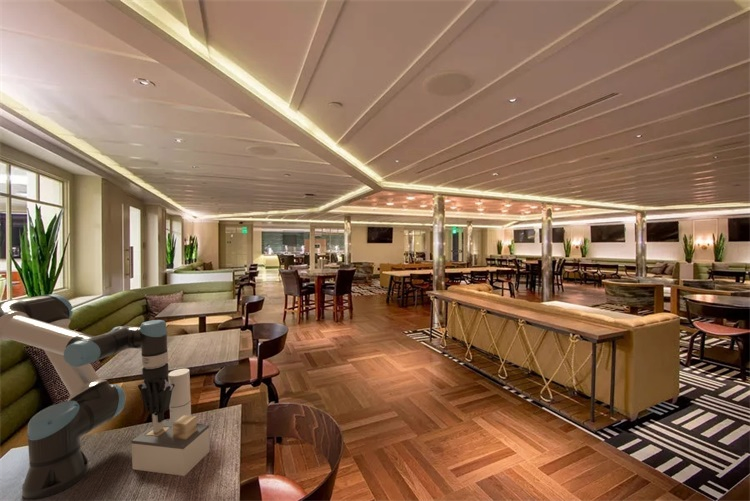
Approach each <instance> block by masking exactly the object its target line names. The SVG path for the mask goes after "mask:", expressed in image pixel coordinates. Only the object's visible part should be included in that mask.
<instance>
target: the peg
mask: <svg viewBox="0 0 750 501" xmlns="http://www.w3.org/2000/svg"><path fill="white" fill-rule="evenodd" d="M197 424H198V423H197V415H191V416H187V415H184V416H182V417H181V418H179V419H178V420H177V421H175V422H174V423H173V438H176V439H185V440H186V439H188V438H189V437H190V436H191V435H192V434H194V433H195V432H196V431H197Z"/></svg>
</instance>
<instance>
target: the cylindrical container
mask: <svg viewBox="0 0 750 501" xmlns="http://www.w3.org/2000/svg"><path fill="white" fill-rule="evenodd" d="M190 375H191V374H190V369H189V368H179V369H174V370H171V371H170V372H168V374H167V379H168V383H170V384H174V385H175V386H174V388H173V390H172V395H171V400H170V406H169V421H177V420H178V419H179V418H181V417H182V416H184V415H187V416H192V406H191V405H192V404H191V401H192V399H191V380H190V379H191V377H190Z"/></svg>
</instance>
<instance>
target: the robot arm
mask: <svg viewBox="0 0 750 501" xmlns="http://www.w3.org/2000/svg"><path fill="white" fill-rule="evenodd" d="M72 315H73V305H72V304H71V302H70V301H69V300H68V299H67V298H66V297H65V296H63V295H60V294H56V293H51V294H41V295H38V296H32V297H31V296H30V297H24V298H18V299H10V300H4V301H1V302H0V341H1V342H2V341H3V342H5V341H6V342H7V341H11V340H12V341H15V342H17V343H21V344H25V345H27V346H31V347H35V348H37V349H41V350H43V351H44V353H45V354H46V356H47V357H48V359H49V361H50V363H51V364H52V366H53V368H54V369H55V371H56V373H57V375H58V376H59V378H60V379H61V382H62V383H63V384H64V386H65V388H66V389H67V391H68V393H69V397H68V399H67V400H65V401H60V402H59V403H57V404H55V403H54V404H51V405H49V406H47V407H45V408H43V409H42V410H39V412H37V413H36V414H34V415H33V416H32V417H31V418H30V420H28V421H29V422H28V423H27V432H26V437H27V443H28V460H29V468H28V471H27V472H26V476H25V479H24V482H23V484H22V488H21V489H22V496H23V498H24V499H28V500H37V499H41V498H42V499H43V498H46V497H50V496H52V495H55V494H57V493H61V492H62V491H64V490H66V489H68V488H70V487H72V486H74V485H75V484H76V483H78V482H79V481H81V480H82V479H83V478H84V477H86V475H87V473H88V472H89V470H90V466H89V465H90V464H89V460H88V458H87V456H86V455H85V452H84V451H83V449H82V444H81V437H83V436H84V435H87V434H88V433H89V432H91V431H93V430H95V429H96V428H98V427H100V426H102V425H104V424H105V423H108V422H109V421H112V419H114V418H115V417H116V416H118V415H120V413H121V412H122V411H123V409H124V408H125V404H126V394H125V391H124V389H123V388H122V387H121V386H120V385H117V384H110V383H109V381H108V380H107V379H101V378H100V377H99V376H98V374H97V372H96V371H95V369H94V366H93V365H92V364H93V363H94V362H97V361H99V360H102V359H104V358H107V357H109V356H112V355H114V354H115V355H116V354H119V353H121V352H124V351H127V350H129V349H141V366H142V368H141V370H142V371H141V372H142V373H141V374H142V379H143V382H142V383H139V384H138V385H137V388H138V390H139V391H140V394H141V398H142V402H143V407H144V411H145V412H149V414H150V420H151V421H150V422H152V426H153V433H157V432H159V431H160V430H161V429H163V420H165V412H166V411H168V410H170V400H171V395H172V390H173V388H174V386H175V385H174V384H170V383H169V379H168V374H169V363H168V361H169V353H168V329H167V328H168V326H167V322H166V321H165V320H163V319H153V320H148V321H144V322H142V323H141V324H140V326H135V325H134V326H132V325H123V326H122V325H121V326H120V325H119V326H115V327H113V328H112V329H111V330H109V331H108V332H105V333H102V334H98V335H91V334H87V333H83V332H80V331H77V330H74V329H73V330H72V329H70V327H69V326H70V323H71V321H72V320H71V318H72V317H73V316H72Z"/></svg>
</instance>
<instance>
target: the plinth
mask: <svg viewBox="0 0 750 501" xmlns="http://www.w3.org/2000/svg"><path fill="white" fill-rule="evenodd" d="M174 422H175V421H170V420H166V419H164V420H163V427H170V428H169V429H168V430H167V431H165V432H164V433H162V434H161V435H160V436H158V437H157V436H148V435H146V434H147V433H149V432H150V431H152V430H153V425H152V426H151V427H149V428H148V429H146V430H145V431H143V432H142V433H140V434H139V435H137V436H136V437H135V438H133V439H131V440H130V441H131V462H132V470H135V471H143V472H152V473H158V474H165V475H166V474H167V475H173V476H174V475H175V476H182V477H185V476H186V475H187V474H188V473H190V471H191V470H192V469H193V468H194V467H195V466H196V465H197V464H199V462H200V461H201V460H203V459H204V458H205V457H206V456H207V455H208V454H209V453H210V450H211V447H210V428H209V427H210V425H209V424H205V423H204V424H203V423H197V431H196V432H195V433H194V434H192V435H191V436H190V437H189V438H188V439H186V440H185V439H176V438H173V423H174Z"/></svg>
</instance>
